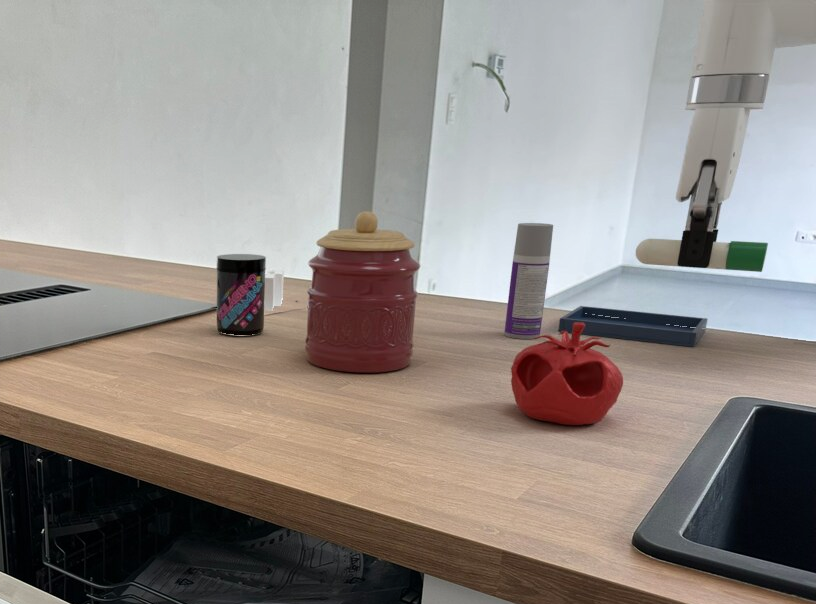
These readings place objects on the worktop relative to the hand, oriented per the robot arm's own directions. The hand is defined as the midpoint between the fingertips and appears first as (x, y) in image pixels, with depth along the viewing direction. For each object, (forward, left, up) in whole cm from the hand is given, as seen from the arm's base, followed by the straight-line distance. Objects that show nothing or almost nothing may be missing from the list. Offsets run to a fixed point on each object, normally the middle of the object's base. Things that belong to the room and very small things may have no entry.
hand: (694, 263), depth 100 cm
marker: (0, 0, 0) cm, 0 cm away
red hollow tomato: (+6, +31, -12) cm, 33 cm away
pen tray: (+8, -17, -12) cm, 23 cm away
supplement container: (+53, +16, -12) cm, 57 cm away
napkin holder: (+61, -4, -12) cm, 62 cm away
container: (+20, -5, -12) cm, 24 cm away
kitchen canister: (+32, +22, -12) cm, 40 cm away
